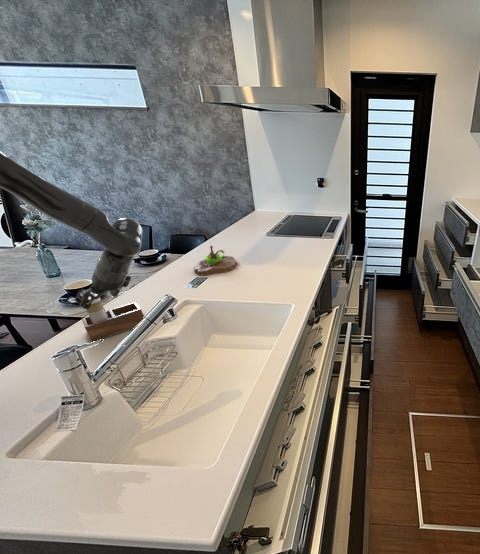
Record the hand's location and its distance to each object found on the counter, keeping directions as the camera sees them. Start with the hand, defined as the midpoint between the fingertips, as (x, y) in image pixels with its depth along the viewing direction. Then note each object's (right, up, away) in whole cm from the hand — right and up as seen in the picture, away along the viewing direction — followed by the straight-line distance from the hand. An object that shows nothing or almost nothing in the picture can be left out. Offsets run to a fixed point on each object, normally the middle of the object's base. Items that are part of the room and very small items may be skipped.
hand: (99, 300), depth 98 cm
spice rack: (-2, -10, +9) cm, 14 cm away
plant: (+8, +13, +59) cm, 61 cm away
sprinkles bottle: (-4, -11, +7) cm, 13 cm away
